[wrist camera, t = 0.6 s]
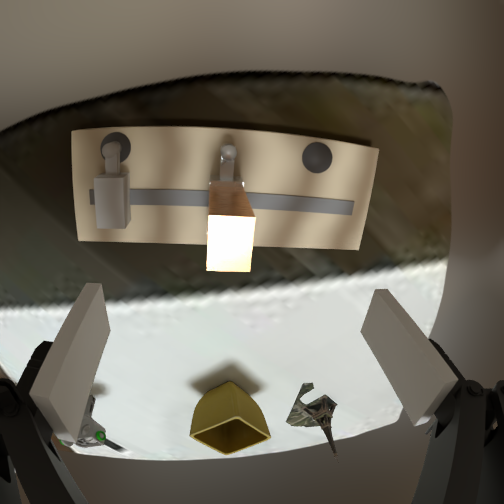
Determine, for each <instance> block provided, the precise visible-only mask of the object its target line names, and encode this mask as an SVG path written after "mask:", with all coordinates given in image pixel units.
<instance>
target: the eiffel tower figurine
mask: <svg viewBox="0 0 504 504" xmlns="http://www.w3.org/2000/svg"><path fill="white" fill-rule="evenodd" d="M312 389H314V387H313V383H306V384H303V385H302V388H301V390H300V392H299V394H298V396H297V399H296V401H295V403H294V406H293V408H292V410H291V412H290V415H289V417H288V419H287V421H286V422H287V423H289V424H290V425H291V426H305V427H314V426H321V429H322V430H323V431H324V433H325V435H326V437H327V439H328V441H329V444H330V446H331V448H332V450H333V453H334V457H335V458H336V459H337V458H338V455H337V453H336V449H335V445H334V441H333V437H332V432H331V428H332V427H331V418H333V416H332V414H333V412H334V409H335V407H336V406H337V404H336V403H335V402H334V401H333V400H331V399H330V398H329V397H328V396H327V395H323V396H322V397H320V398H318V399H316V400H315V401H313V402H311V403H309V404H307V405H306V404H304V403H302V402H301V400H300V398H301V397H302V396H303V395H304V394H305V393H307V392H309V391H311V390H312ZM329 409H330V410H329ZM312 417H313V418H312ZM314 420H315V421H314Z"/></svg>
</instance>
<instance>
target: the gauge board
mask: <svg viewBox="0 0 504 504" xmlns="http://www.w3.org/2000/svg"><path fill="white" fill-rule="evenodd" d="M225 143H231V144H233V145H234V146H235V147H236V151H237V155H236V157H235V160H234V172H233V176H241V177H242V179H243V181H244V186H243V188H244V190H245V193H246V195H247V198H248V200H249V203H250V205H251V207H252V210H253V212H254V215H255V217H256V218H255V227H254V237H253V246H267V247H295V248H322V249H348V250H359V246H360V242H361V238H362V233H363V229H364V225H365V220H366V215H367V211H368V206H369V201H370V196H371V191H372V186H373V181H374V176H375V170H376V164H377V158H378V152H379V149H377V148H374V147H370V146H365V145H360V144H354V143H349V142H343V141H337V140H331V139H325V138H318V137H311V136H304V135H296V134H288V133H279V132H270V131H259V130H248V129H234V128H218V127H194V126H130V127H107V128H91V129H79V130H74V131H72V176H73V192H74V205H75V215H76V224H77V233H78V240H79V241H106V242H142V243H175V244H207V221H208V201H209V182H210V175H220V162H221V153H220V148H221V146H222V145H223V144H225Z"/></svg>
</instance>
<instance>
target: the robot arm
mask: <svg viewBox="0 0 504 504" xmlns="http://www.w3.org/2000/svg"><path fill="white" fill-rule="evenodd" d="M360 332H361V334H362V335H363V337H364V339H365V340H366V342H367V344H368V345H369V347H370V349H371V350H372V352H373V354H374V356H375V357H376V359H377V361H378V362H379V364H380V366H381V368H382V369H383V371H384V373H385V375H386V376H387V378H388V380H389V382H390V383H391V385H392V387H393V389H394V390H395V392H396V394H397V396H398V398H399V399H400V401H401V403H402V405H403V407H404V409H405V410H406V412H407V414H408V416H409V418H410V420H411V422H412V423H413V425H414V426H416V425H420V424H423V423H426V422H427V421H428V420H429V419H430V418H431V417H432V415H433V414H435V416H436V418H437V419H436V420H435V421H434V422H433V424H432V425H431V426H430V427H429V428H428V430H427V431H426V433H425V434H428V433H429V432H430V431H431V430H432V433H431V435H430V436H431V437H430V442H429V446H428V450H427V454H426V458H425V462H424V465H423V469H422V472H421V476H420V479H419V482H418V485H417V488H416V491H415V494H414V497H413V500H412V503H411V504H504V380H500V381H498V382H497V383H496V385H495V386H494V388H493V389H484V388H483V387H482V386H481V385H480V384H479V383H478V382H476V381H473V380H465V378H464V377H463V376H462V374H461V373H460V372H459V371H458V369H457V368H456V366H455V365H454V364H453V363H452V361H451V360H449V357H448V356H447V355H446V354H445V352H444V351H443V349H442V348H441V347H440V346H439V345H438V344H437V343H436V342H434V341H433V340H431V339H428V338H427V337H426V336H425V335H424V333H423V332H422V331H421V329H420V328H419V327H418V326H417V324H416V323H415V322H414V321H413V319H412V318H411V317H410V316H409V315H408V313H407V312H406V311H405V310H404V308H403V307H402V306H401V305H400V304H399V302H398V301H397V300H396V299H395V298H394V296H393V295H392V294H391V293H390V292H389V291H388V289H375V291H374V294H373V297H372V300H371V303H370V306H369V309H368V312H367V315H366V318H365V320H364V323H363V326H362V329H361V331H360ZM109 333H110V326H109V321H108V316H107V311H106V306H105V301H104V295H103V290H102V284H98V283H86V285H85V286H84V288H83V290H82V291H81V293H80V295H79V297H78V298H77V300H76V302H75V303H74V305H73V307H72V309H71V310H70V312H69V314H68V316H67V318H66V319H65V321H64V323H63V325H62V327H61V329H60V331H59V332H58V334H57V336H56V338H55V340H54V342H49V341H43V342H42V343H41V344H40V345H39V346H38V347H37V348H36V349H35V350H34V352H33V354H32V356H31V360H29V362H28V364H27V367H26V368H25V370H24V372H23V374H22V376H21V378H20V380H19V382H18V384H17V386H15V384H14V383H13V382H12V381H11V380H9V379H5V378H1V379H0V504H22V503H21V499H20V495H19V490H18V485H17V480H16V475H15V471H16V473H17V476H18V478H19V480H20V483H21V485H22V487H23V489H24V491H25V494H26V496H27V498H28V500H29V502H30V504H89V503H88V502H87V500H86V499H85V497H84V496H83V494H82V493H81V491H80V489H79V488H78V486H77V485H76V483H75V481H74V480H73V478H72V476H71V475H70V473H69V471H68V470H67V468H66V466H65V464H64V462H63V461H62V459H61V457H60V455H59V453H58V451H57V449H56V447H55V445H54V443H53V442H52V440H51V436H52V433H53V432H54V433H55V435H56V436H57V438H58V439H61V440H65V441H69V442H74V443H76V442H77V438H78V434H79V430H80V426H81V423H82V419H83V415H84V412H85V408H86V404H87V401H88V398H89V394H90V391H91V387H92V384H93V381H94V378H95V375H96V372H97V368H98V365H99V362H100V359H101V356H102V353H103V350H104V348H105V345H106V342H107V339H108V336H109ZM496 421H497V424H498V426H497V427H496V429H493V424H494V423H495V422H496Z"/></svg>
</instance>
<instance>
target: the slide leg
mask: <svg viewBox="0 0 504 504" xmlns="http://www.w3.org/2000/svg"><path fill="white" fill-rule="evenodd" d="M220 153H221V162H220V175H210V182H209V201H208V221H207V271H242V272H250V266H251V256H252V247H253V237H254V227H255V218H256V217H255V215H254V212H253V210H252V207H251V205H250V203H249V200H248V198H247V195H246V193H245V190H244V188H243V186H244V181H243V179H242V177H241V176H233V172H234V160H235V157H236V155H237V151H236V147H235V146H234V145H233V144H231V143H225V144H223V145H222V146H221V148H220Z"/></svg>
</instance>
